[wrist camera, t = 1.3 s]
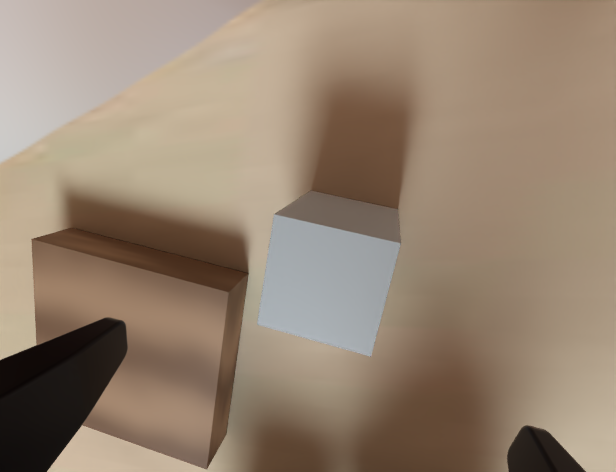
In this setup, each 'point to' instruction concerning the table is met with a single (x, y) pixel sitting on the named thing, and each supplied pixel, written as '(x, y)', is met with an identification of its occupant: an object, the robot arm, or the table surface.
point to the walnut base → (148, 336)
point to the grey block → (330, 270)
